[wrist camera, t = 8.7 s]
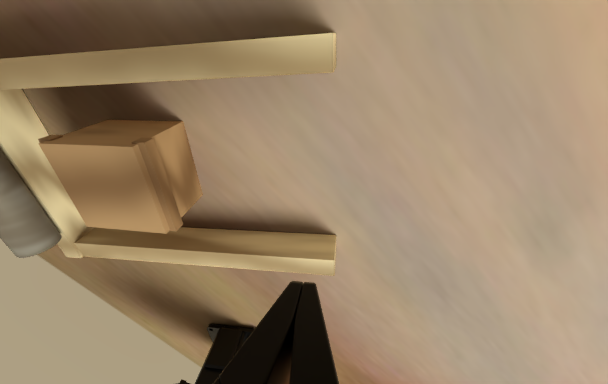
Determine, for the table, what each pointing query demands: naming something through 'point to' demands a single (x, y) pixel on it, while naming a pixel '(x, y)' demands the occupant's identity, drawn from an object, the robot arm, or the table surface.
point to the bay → (135, 69)
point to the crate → (127, 173)
